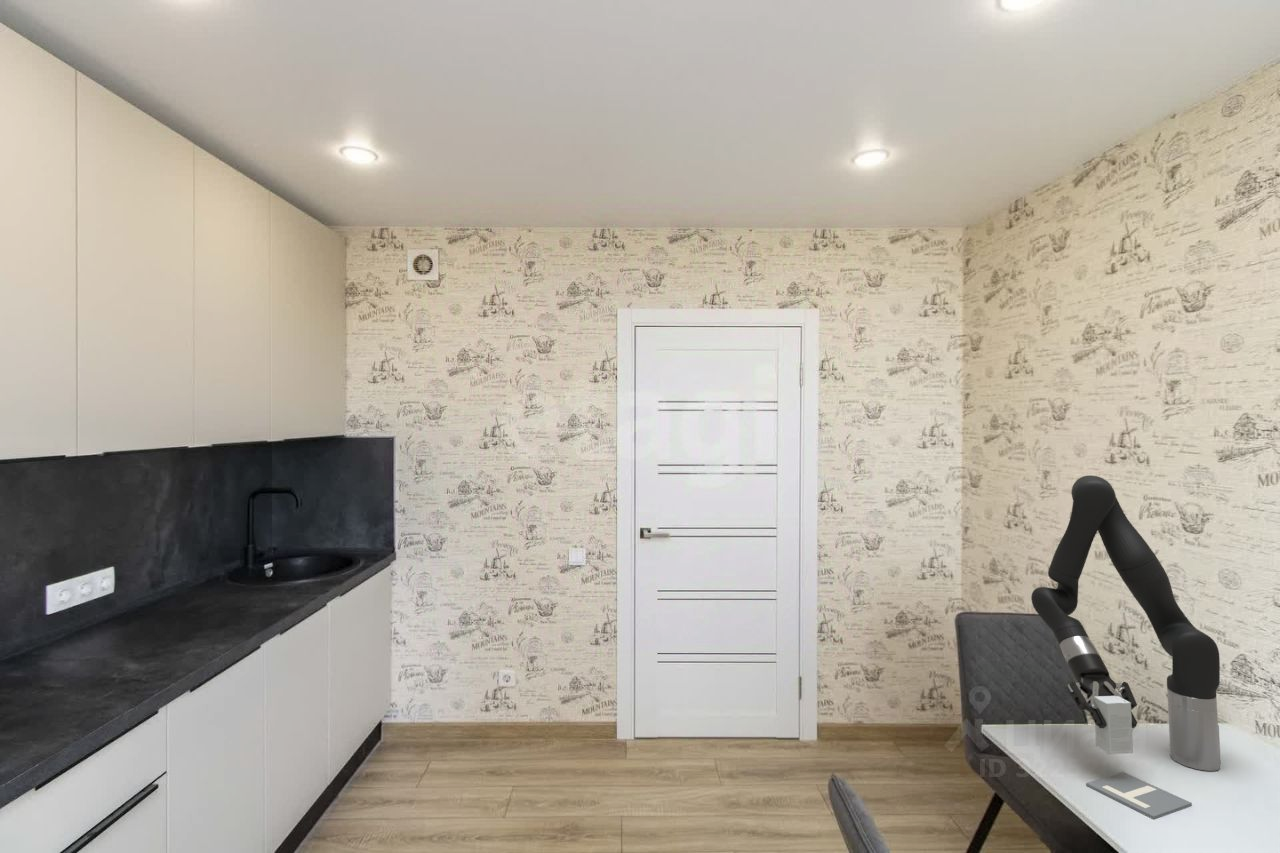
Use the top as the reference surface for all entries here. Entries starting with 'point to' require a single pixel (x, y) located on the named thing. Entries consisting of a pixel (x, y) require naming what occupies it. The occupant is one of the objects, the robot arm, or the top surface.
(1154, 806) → the letter card
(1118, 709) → the skincare box
